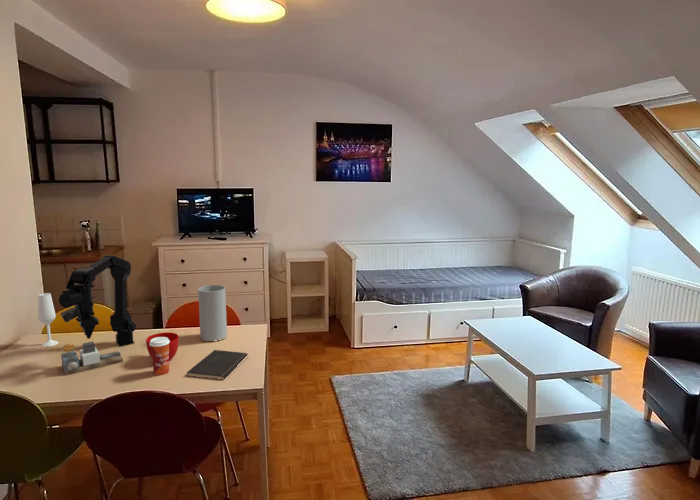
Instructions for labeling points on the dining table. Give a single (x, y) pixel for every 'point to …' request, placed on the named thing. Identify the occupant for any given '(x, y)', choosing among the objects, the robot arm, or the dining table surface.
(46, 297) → the champagne flute
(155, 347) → the paper cup
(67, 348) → the button
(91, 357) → the carriage
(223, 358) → the hardcover book
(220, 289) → the cylinder vase
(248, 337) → the dining table surface
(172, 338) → the ceramic cup
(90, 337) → the robot arm
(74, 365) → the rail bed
